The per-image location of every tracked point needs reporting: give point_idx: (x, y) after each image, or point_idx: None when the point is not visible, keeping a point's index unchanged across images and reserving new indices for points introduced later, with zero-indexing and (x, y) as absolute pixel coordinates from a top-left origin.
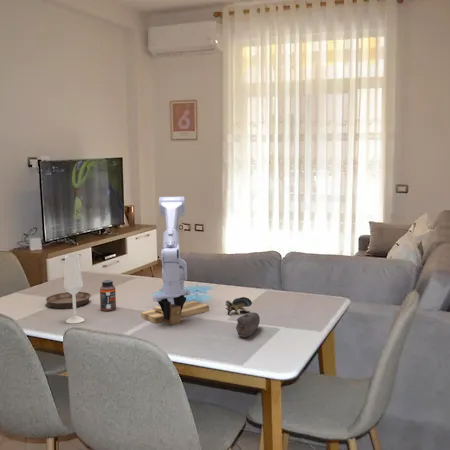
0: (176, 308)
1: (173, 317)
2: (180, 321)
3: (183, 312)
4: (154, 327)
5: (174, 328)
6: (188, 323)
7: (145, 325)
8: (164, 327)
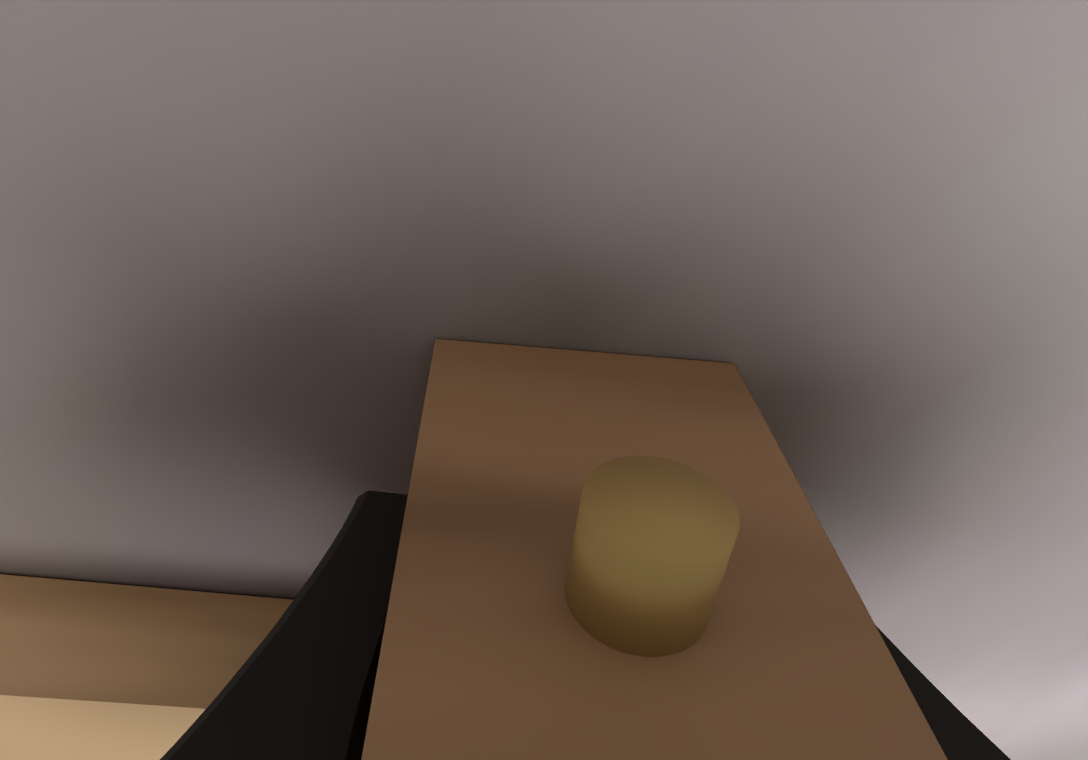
0: (643, 751)
1: (734, 481)
2: (452, 356)
3: (45, 676)
4: (1060, 513)
5: (959, 95)
6: (327, 116)
7: (1001, 683)
8: (981, 366)
